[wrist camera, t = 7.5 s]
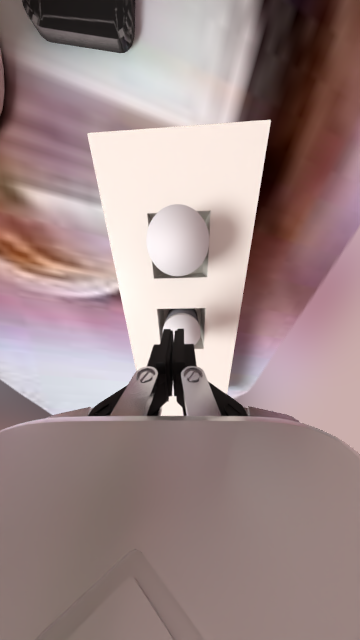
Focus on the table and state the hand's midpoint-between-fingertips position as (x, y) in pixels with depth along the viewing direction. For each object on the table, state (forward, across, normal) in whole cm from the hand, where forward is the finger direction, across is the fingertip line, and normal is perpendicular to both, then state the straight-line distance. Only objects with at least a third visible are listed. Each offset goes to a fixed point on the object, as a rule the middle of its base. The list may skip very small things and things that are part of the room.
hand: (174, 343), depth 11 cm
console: (+8, -1, +1) cm, 9 cm away
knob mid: (+7, -1, +1) cm, 7 cm away
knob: (+5, -1, -7) cm, 9 cm away
